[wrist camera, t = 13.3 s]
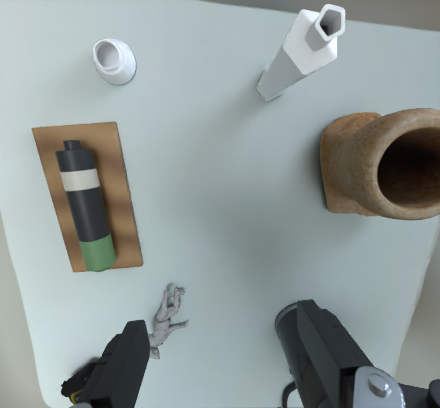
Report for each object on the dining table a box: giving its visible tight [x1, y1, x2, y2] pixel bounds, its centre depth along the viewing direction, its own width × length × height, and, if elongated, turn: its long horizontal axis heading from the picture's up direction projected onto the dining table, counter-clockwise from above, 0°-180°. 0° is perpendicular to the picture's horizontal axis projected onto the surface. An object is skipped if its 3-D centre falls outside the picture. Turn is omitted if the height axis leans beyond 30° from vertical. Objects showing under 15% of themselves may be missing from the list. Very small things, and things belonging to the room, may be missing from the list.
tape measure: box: [61, 363, 97, 405], centre depth 39 cm, size 7×7×4 cm
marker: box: [55, 140, 116, 272], centre depth 29 cm, size 18×4×4 cm, turn 4°
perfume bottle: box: [256, 4, 345, 102], centre depth 22 cm, size 5×4×15 cm
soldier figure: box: [148, 288, 188, 359], centre depth 36 cm, size 8×5×12 cm
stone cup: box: [320, 108, 440, 220], centre depth 25 cm, size 15×12×15 cm
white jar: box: [93, 38, 136, 85], centre depth 26 cm, size 5×3×5 cm
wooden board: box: [32, 122, 143, 272], centre depth 32 cm, size 22×11×1 cm, turn 4°
